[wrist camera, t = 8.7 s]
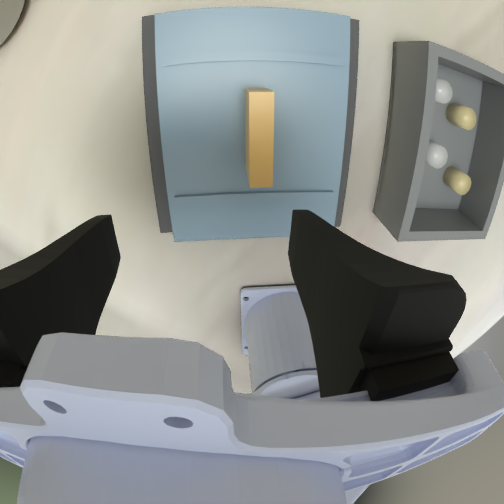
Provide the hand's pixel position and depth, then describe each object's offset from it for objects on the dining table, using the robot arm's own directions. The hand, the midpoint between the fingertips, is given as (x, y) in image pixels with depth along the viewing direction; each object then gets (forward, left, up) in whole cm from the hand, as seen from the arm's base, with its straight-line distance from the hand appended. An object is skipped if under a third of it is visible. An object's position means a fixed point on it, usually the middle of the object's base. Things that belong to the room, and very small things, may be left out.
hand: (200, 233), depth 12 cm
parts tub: (+3, -18, -10) cm, 21 cm away
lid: (+3, -3, -10) cm, 10 cm away
